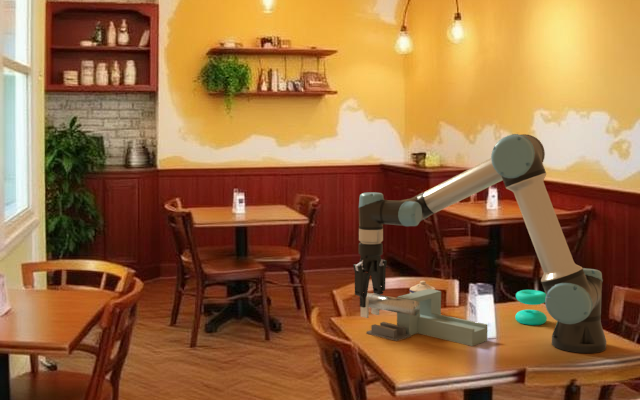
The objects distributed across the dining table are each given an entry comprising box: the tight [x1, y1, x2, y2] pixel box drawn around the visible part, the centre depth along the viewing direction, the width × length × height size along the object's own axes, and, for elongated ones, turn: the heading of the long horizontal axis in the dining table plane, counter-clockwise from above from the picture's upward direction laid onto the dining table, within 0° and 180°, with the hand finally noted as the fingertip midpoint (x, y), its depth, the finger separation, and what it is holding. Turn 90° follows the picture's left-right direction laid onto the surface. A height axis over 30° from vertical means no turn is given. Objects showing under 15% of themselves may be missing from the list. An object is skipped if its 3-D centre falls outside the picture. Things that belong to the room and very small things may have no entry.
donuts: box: [514, 289, 548, 326], centre depth 249 cm, size 10×10×10 cm
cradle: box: [365, 321, 412, 342], centre depth 234 cm, size 12×7×3 cm, turn 45°
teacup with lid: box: [408, 280, 437, 294], centre depth 261 cm, size 12×9×12 cm
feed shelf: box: [417, 313, 488, 347], centre depth 232 cm, size 20×8×5 cm, turn 45°
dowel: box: [367, 292, 420, 316], centre depth 234 cm, size 20×4×4 cm, turn 46°
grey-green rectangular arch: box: [396, 289, 442, 336], centre depth 241 cm, size 5×16×11 cm, turn 135°
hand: (369, 315), depth 239 cm, fingers closed on dowel, 4 cm apart
